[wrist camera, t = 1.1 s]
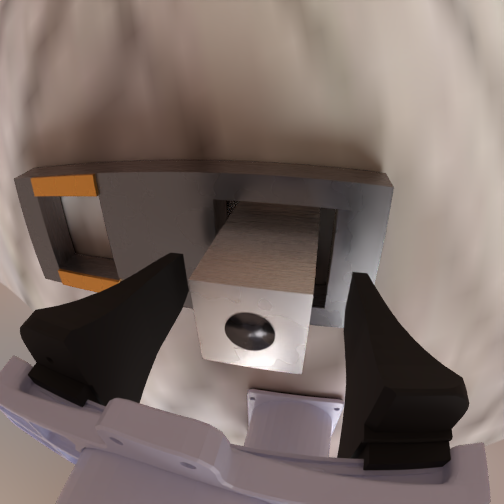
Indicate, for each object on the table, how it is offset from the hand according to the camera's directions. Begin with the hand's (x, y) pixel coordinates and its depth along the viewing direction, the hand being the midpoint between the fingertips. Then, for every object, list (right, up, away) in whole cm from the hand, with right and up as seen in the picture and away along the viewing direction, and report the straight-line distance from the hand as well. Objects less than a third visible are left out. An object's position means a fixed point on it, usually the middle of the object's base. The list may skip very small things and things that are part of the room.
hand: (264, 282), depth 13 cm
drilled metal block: (+1, +2, +3) cm, 4 cm away
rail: (-5, +3, +5) cm, 7 cm away
